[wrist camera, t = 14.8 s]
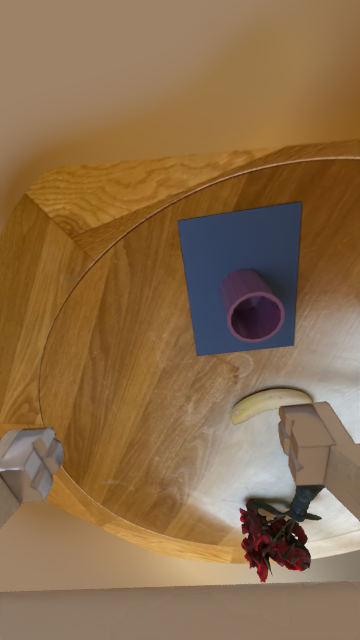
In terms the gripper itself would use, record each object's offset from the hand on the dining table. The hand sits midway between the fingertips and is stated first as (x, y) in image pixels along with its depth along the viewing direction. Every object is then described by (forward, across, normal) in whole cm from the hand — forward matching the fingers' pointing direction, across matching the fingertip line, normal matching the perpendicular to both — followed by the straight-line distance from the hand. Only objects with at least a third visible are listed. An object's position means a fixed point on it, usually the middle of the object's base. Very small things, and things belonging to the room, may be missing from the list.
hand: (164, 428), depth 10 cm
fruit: (+31, -12, +32) cm, 46 cm away
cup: (+31, -8, +8) cm, 33 cm away
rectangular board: (+31, -8, +8) cm, 33 cm away
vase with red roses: (+31, -15, +56) cm, 66 cm away
